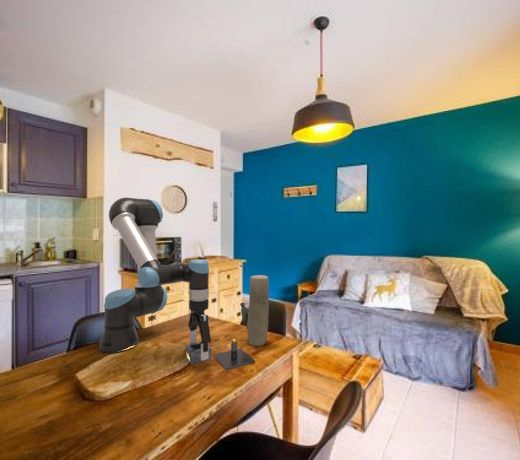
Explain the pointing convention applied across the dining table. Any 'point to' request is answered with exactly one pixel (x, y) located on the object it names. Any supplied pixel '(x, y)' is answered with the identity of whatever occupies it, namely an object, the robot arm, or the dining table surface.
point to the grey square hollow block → (196, 352)
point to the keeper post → (234, 357)
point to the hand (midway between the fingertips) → (198, 352)
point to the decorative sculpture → (257, 310)
